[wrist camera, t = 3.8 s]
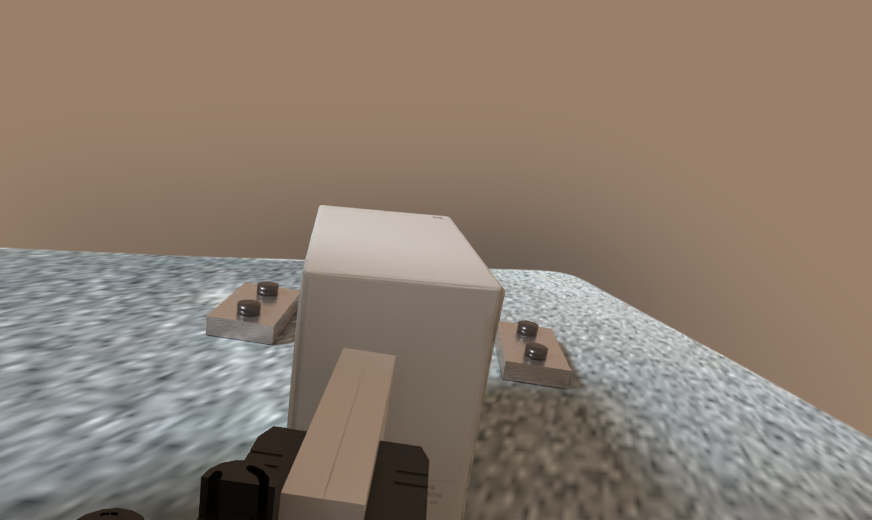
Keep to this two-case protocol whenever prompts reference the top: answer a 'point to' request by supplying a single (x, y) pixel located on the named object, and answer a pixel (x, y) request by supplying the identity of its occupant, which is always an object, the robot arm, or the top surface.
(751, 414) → the top surface
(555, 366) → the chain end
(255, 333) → the block
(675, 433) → the top surface
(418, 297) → the skincare box
